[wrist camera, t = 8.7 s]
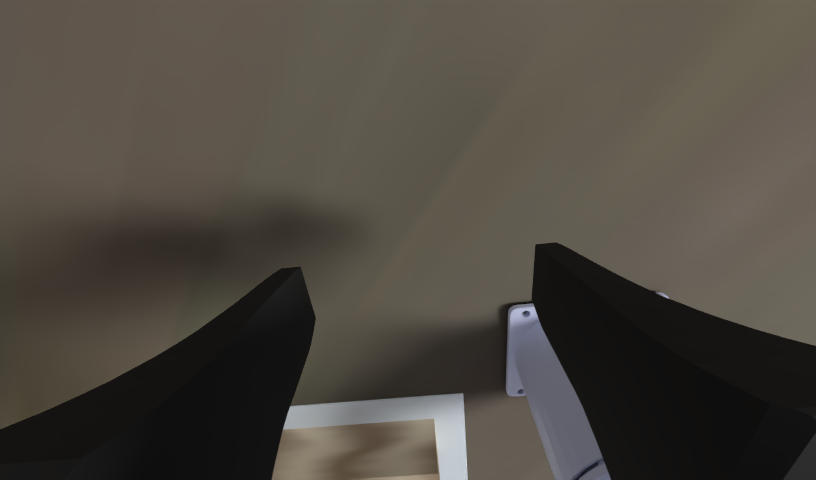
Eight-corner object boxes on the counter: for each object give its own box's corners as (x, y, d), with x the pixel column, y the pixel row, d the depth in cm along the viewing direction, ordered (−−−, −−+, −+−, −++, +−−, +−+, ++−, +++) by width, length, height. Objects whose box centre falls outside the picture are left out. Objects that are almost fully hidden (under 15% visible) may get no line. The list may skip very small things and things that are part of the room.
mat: (462, 390, 26) (463, 393, 26) (468, 504, 34) (468, 508, 33) (251, 406, 27) (249, 409, 27) (303, 514, 34) (302, 518, 34)
